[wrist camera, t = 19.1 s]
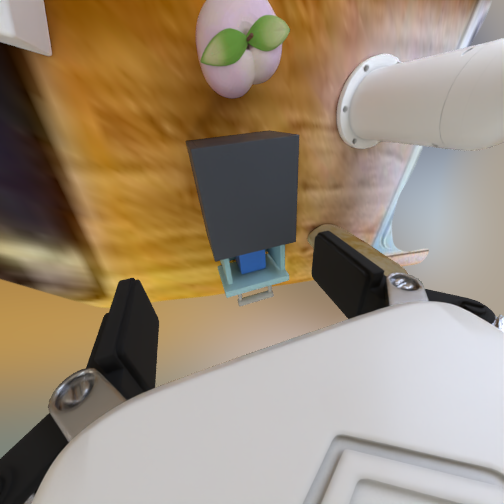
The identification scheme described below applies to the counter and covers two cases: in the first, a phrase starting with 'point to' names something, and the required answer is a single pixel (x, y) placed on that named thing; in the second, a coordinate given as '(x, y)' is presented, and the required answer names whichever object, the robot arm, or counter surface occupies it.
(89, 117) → the counter surface
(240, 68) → the decorative fruit
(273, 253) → the teal drawer
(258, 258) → the blue cube
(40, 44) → the medicine bottle
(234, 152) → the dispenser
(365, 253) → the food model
